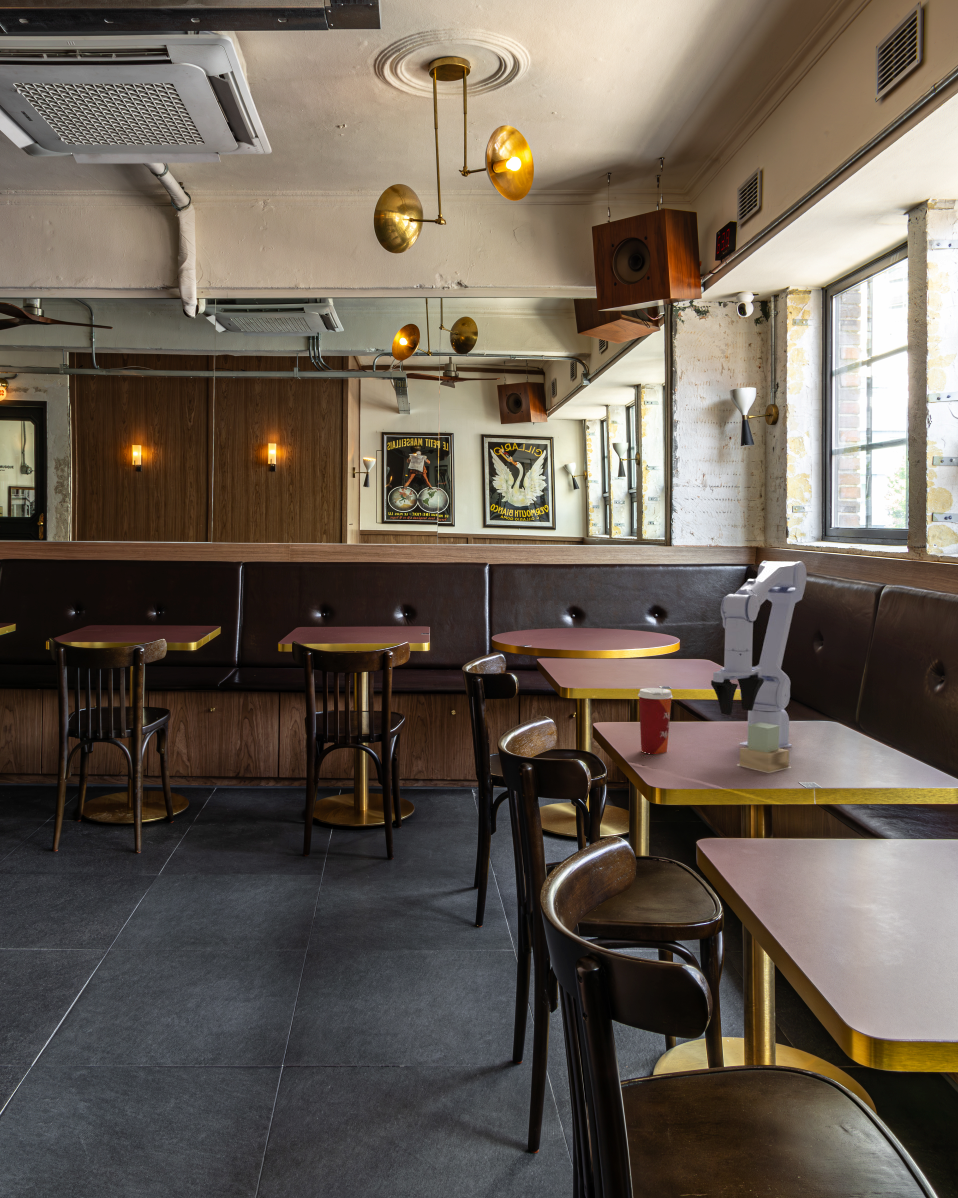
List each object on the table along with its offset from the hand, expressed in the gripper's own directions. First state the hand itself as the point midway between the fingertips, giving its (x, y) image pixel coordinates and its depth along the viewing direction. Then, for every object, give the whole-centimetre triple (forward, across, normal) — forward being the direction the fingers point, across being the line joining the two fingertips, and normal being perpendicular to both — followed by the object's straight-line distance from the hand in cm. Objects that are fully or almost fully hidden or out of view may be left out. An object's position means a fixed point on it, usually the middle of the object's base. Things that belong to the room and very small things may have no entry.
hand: (736, 712), depth 189 cm
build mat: (+10, +2, +8) cm, 13 cm away
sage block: (+6, +2, +8) cm, 10 cm away
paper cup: (+10, +9, -15) cm, 21 cm away
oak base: (+10, +2, +8) cm, 13 cm away
